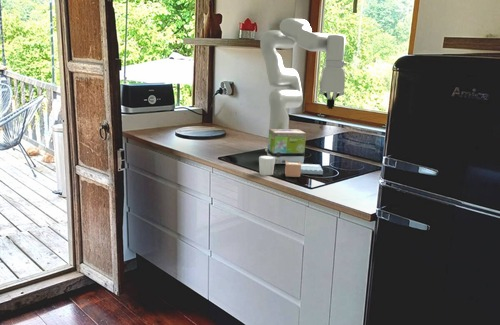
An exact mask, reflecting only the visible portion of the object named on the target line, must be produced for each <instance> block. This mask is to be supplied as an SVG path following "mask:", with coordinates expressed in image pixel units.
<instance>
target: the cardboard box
mask: <svg viewBox="0 0 500 325" xmlns="http://www.w3.org/2000/svg"><path fill="white" fill-rule="evenodd" d="M284 171H285V172H284V174H285V177H293V178H300V177H301V164H300V162H290V161H287V162H286V164H285V168H284Z"/></svg>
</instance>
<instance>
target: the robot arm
mask: <svg viewBox="0 0 500 325" xmlns="http://www.w3.org/2000/svg"><path fill="white" fill-rule="evenodd" d="M312 31H313V30H312V27H311V26H310V23H309V21H308V20H306V19H303V18H294V17H289V18H284V19H283V20H282V21H281V22H280V24H279V30H278V29H277V30H276V29H273V30H271V29H270V30H266V31H265V32H263V34H262V35H261V37H260V43H259V45H260V51H261V55H262V57H263V60H264V63H265V69H266V74H267V80H268V83H269V85H270V86H271V87H272V88H276V89H274V90H272V91H271V92H269V96H268V103H269V129H289V128H290V127H289V125H290V124H289V123H290V117H289V113H288V112H287V109H297V108H299V107H301V106H302V104H303V101H304V98H303V97H304V96H303V90H302V85H301V79H300V75H299V72H298V71H297V70H296V69H295V68H293V67H286V66H284V63H283V59H282V58H283V57H282V56H281V54H280V53H279V51H277V49H284V50H289V49H293V48H295V47H296V46H297V45H298V46H299V47H300V48H302V49H304V50H306V51H309V52H322V53H325V58H324V59H325V60H324V67H322V70H321V71H320V72H321V73H320V78H319V79H320V80H319V90H318V94H319V95H322V96H324V97H325V98H326V107H327V109H328V110H330V109H331V110H332V109H333V108H334V107H335V100H336V99H337V98H338V97H340V96H344V95H345V87H346V86H345V84H346V83H345V82H346V76H345V75H346V74H345V72H346V71H345V68H344V67H347V64H348V63H347V62H345V48H346V36H345V35H344V34H340V33H339V34H338V33H322V32H312ZM331 93H332V96H331ZM269 129H268V130H269ZM267 150H268V147H265V149H264V152H265V153H267Z"/></svg>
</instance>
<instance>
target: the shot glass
mask: <svg viewBox="0 0 500 325" xmlns="http://www.w3.org/2000/svg"><path fill="white" fill-rule="evenodd" d="M258 163H259V164H258V169H259V174H260V175H262V176H272V175H274V169H275V165H276V164H275V157H273V156H267V155H260V156H259V157H258Z"/></svg>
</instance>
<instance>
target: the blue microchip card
mask: <svg viewBox="0 0 500 325" xmlns="http://www.w3.org/2000/svg"><path fill="white" fill-rule="evenodd" d="M323 173H324V170H323V168H322V166H321V164H313V163H303V164H301V173H300V175H301V174H307V175H324V174H323Z"/></svg>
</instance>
